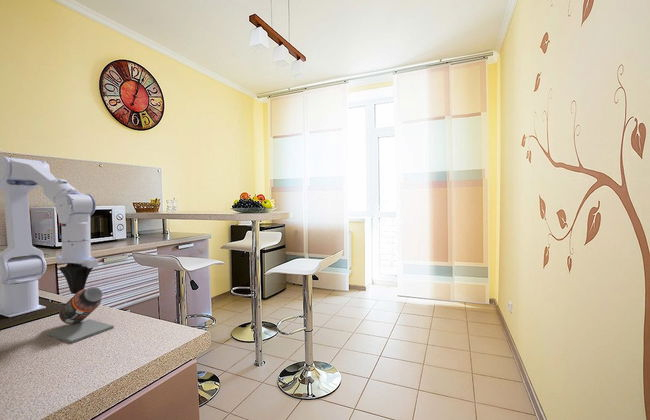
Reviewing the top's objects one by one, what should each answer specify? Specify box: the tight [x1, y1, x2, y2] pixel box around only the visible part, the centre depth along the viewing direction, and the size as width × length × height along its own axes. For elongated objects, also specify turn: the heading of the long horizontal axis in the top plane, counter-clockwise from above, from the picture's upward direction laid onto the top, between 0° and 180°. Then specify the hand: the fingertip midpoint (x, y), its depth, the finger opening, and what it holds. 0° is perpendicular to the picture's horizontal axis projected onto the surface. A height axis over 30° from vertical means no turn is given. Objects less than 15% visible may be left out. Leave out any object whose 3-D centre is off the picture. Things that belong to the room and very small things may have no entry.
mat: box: [47, 319, 115, 344], centre depth 73 cm, size 10×9×1 cm
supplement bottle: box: [58, 286, 104, 325], centre depth 76 cm, size 6×6×11 cm
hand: (77, 292), depth 77 cm, fingers closed
